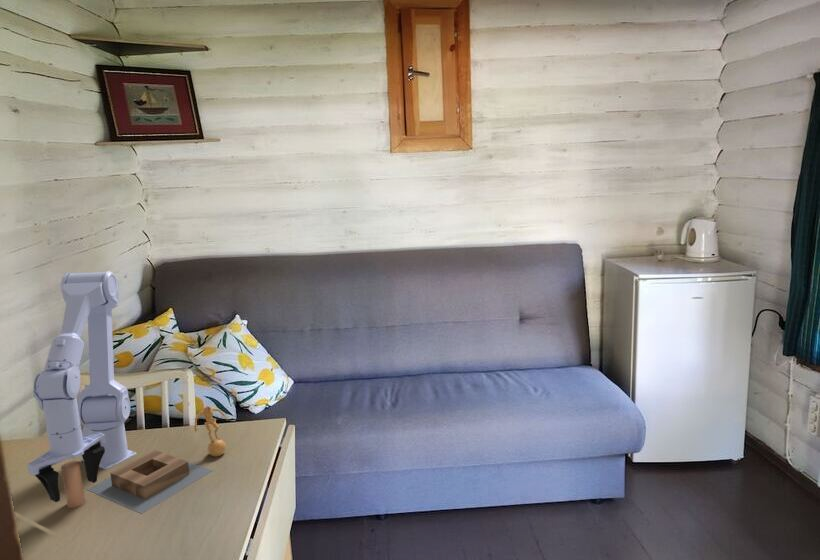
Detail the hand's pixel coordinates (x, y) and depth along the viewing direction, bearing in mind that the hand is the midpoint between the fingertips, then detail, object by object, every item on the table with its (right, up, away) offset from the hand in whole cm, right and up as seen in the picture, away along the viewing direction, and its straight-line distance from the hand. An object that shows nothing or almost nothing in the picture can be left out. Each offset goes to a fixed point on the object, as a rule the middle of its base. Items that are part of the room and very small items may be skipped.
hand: (74, 490), depth 120 cm
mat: (+12, -1, +9) cm, 15 cm away
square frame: (+12, -1, +9) cm, 15 cm away
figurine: (+22, +1, +20) cm, 30 cm away
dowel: (0, -3, +1) cm, 3 cm away
